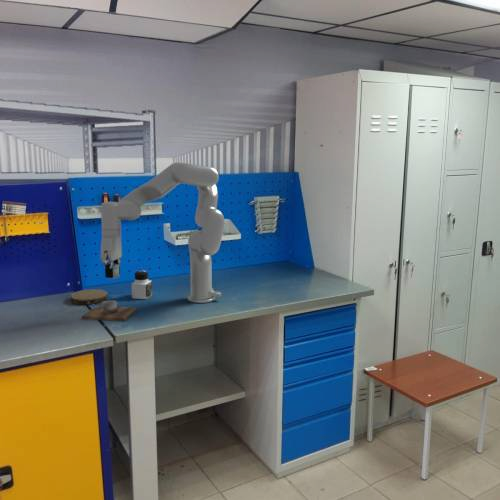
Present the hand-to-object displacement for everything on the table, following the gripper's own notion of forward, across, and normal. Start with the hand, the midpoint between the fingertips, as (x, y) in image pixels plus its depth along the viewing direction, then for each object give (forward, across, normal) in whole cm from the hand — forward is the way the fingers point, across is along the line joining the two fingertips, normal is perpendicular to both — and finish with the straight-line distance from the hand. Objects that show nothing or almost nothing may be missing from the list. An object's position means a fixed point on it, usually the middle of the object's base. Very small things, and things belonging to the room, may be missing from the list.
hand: (112, 275), depth 212 cm
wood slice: (+17, -15, -20) cm, 30 cm away
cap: (+1, 0, 0) cm, 1 cm away
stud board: (+16, +2, -1) cm, 16 cm away
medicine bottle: (+16, -25, +2) cm, 30 cm away
